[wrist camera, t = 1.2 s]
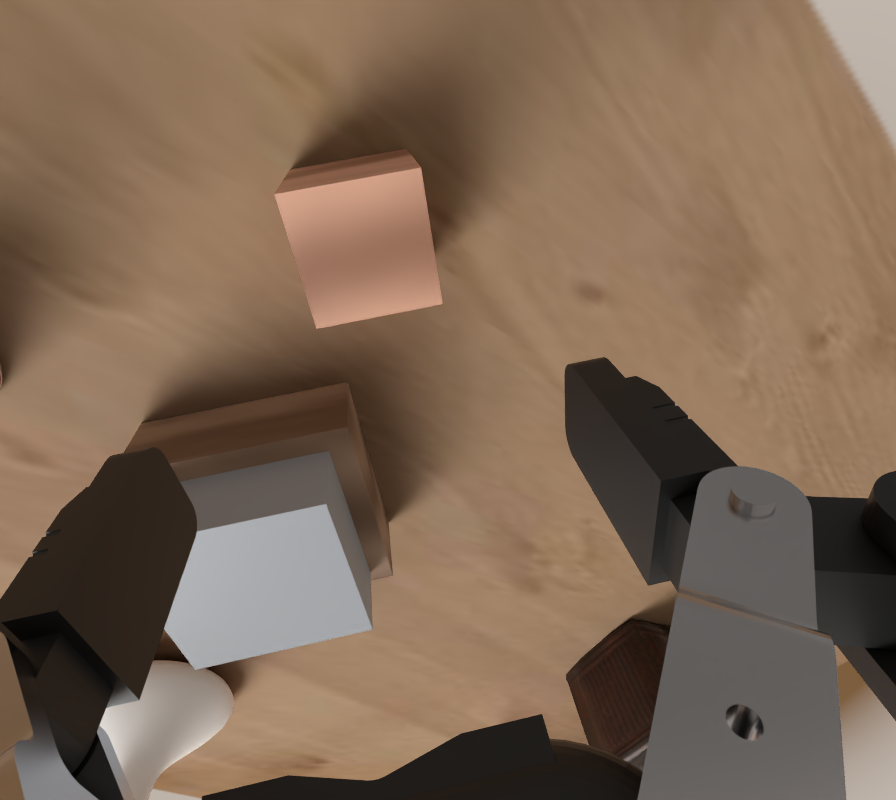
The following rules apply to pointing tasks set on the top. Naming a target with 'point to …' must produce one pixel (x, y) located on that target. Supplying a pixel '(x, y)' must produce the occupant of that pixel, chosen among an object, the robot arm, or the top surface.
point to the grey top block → (269, 563)
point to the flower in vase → (166, 721)
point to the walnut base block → (281, 450)
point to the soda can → (0, 375)
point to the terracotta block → (361, 237)
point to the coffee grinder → (621, 689)
